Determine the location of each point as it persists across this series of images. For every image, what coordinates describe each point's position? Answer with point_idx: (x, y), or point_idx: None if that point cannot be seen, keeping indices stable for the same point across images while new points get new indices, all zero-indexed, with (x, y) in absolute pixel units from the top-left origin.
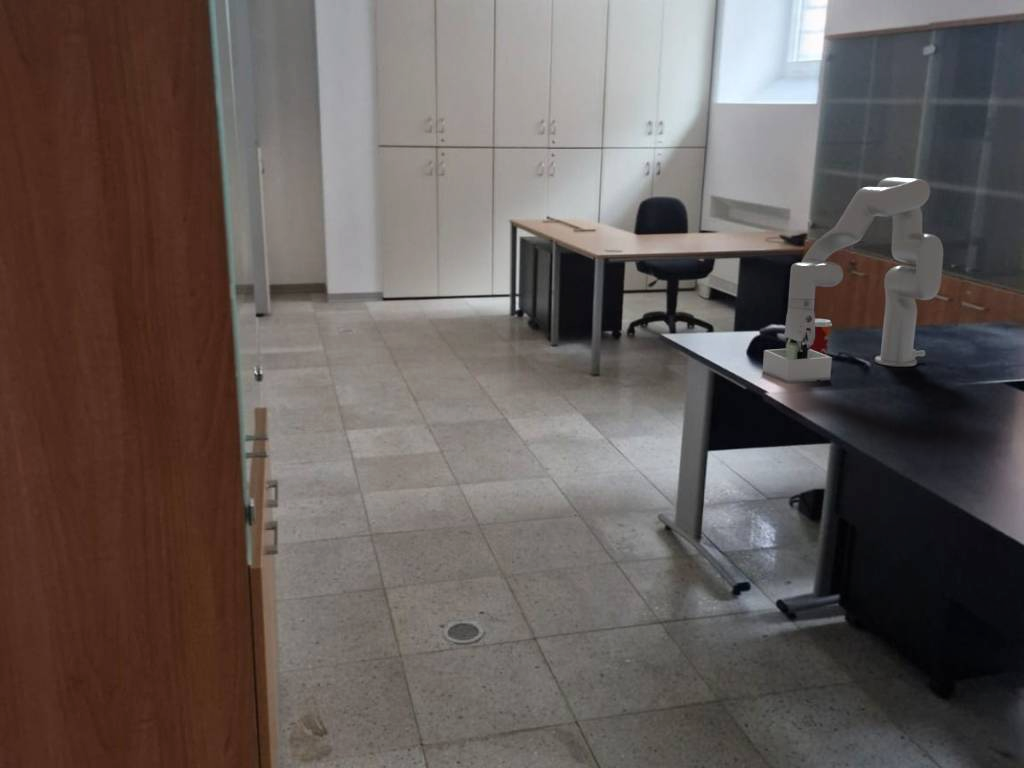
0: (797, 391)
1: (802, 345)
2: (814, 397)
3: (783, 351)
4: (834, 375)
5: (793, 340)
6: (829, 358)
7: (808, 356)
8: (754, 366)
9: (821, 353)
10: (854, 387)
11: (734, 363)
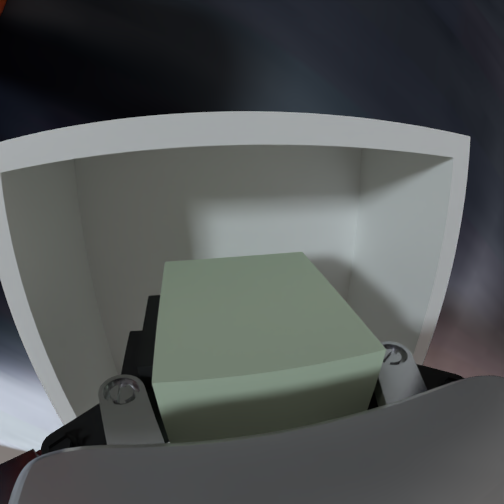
0: (434, 355)
1: (343, 414)
2: (488, 325)
3: (68, 381)
4: (285, 32)
5: (103, 444)
6: (463, 159)
7: (330, 285)
8: (17, 371)
9: (322, 116)
10: (485, 119)
11: None
